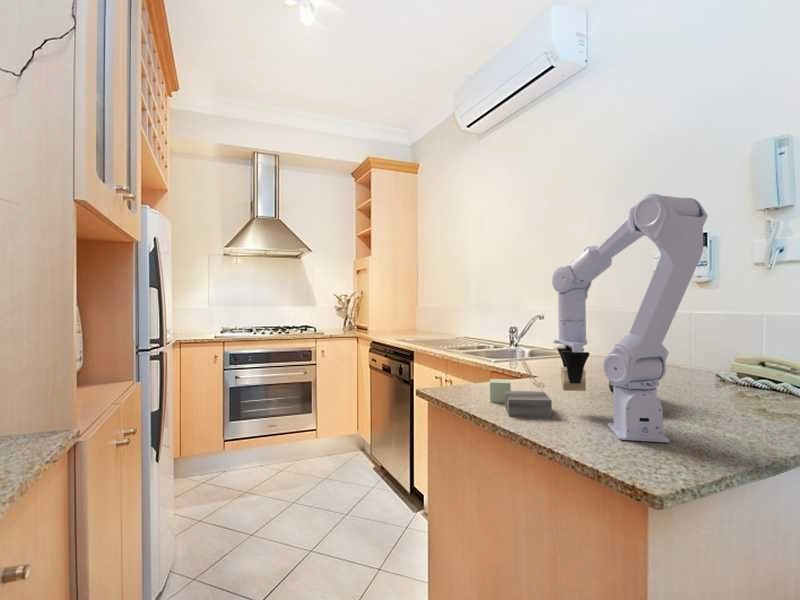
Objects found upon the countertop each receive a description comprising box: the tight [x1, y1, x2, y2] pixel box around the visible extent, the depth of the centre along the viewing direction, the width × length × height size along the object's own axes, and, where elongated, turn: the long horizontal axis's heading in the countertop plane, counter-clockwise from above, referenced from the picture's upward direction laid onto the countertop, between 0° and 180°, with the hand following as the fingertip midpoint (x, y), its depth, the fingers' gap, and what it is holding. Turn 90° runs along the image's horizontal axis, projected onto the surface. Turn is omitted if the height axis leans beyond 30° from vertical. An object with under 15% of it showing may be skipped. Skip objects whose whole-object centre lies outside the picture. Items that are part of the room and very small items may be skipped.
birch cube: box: [560, 366, 587, 392], centre depth 94 cm, size 4×4×4 cm
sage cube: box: [489, 378, 512, 404], centre depth 107 cm, size 5×5×5 cm
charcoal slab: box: [504, 390, 553, 419], centre depth 95 cm, size 9×9×4 cm
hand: (573, 381), depth 94 cm, fingers closed on birch cube, 4 cm apart
